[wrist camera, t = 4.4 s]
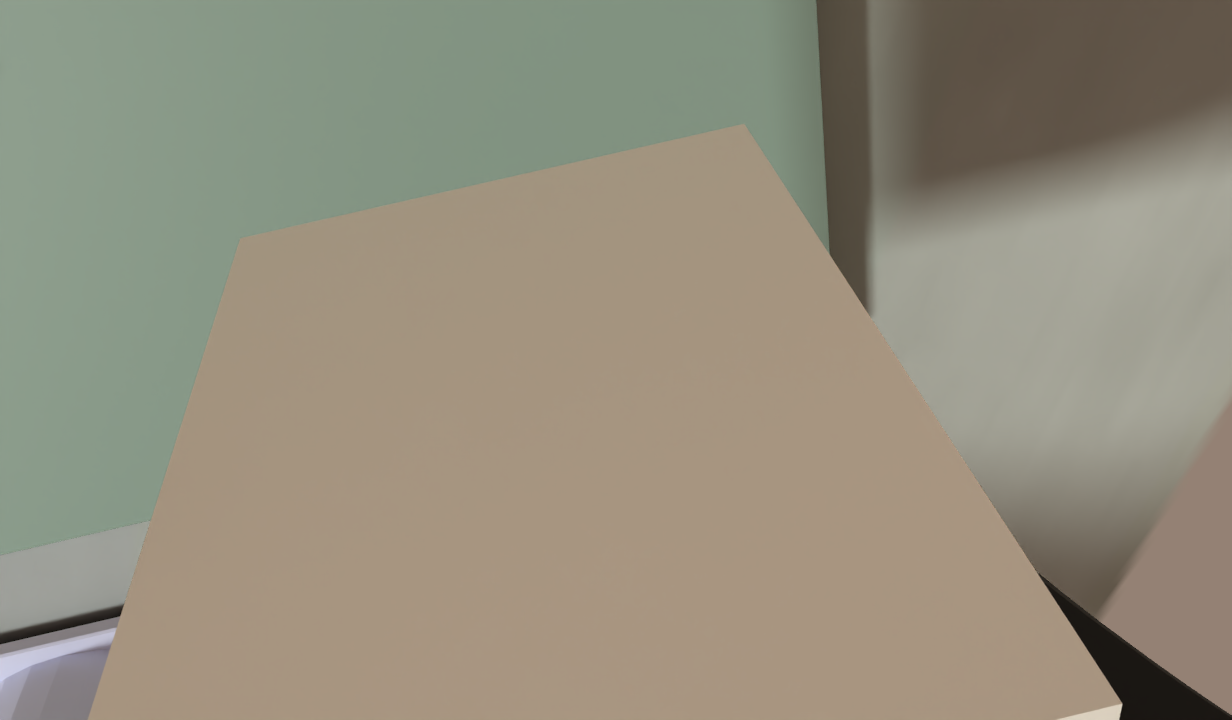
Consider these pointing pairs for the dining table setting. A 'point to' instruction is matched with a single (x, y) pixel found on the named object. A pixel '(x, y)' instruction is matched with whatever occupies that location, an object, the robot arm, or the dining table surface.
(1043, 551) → the dining table surface
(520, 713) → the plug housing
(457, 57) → the header board
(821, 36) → the dining table surface
